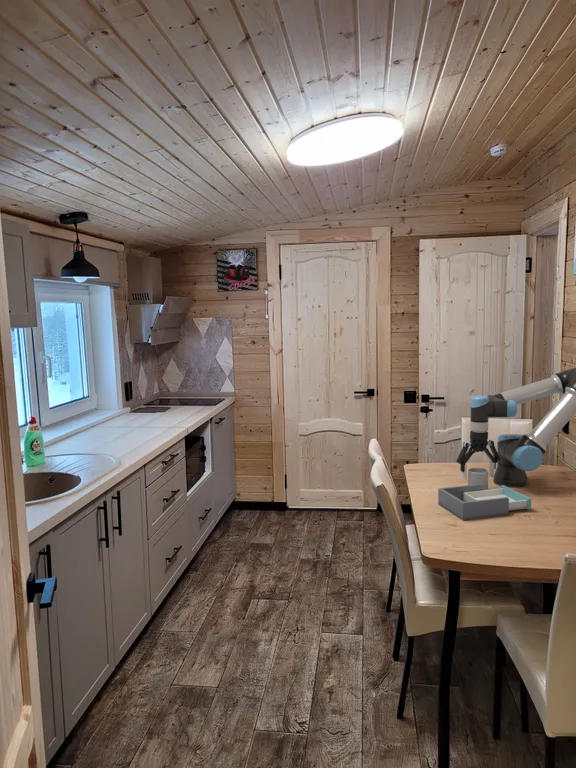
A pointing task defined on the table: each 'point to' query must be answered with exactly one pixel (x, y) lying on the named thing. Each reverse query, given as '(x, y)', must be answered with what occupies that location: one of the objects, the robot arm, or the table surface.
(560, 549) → the table surface
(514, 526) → the table surface
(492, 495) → the tray
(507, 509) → the dock
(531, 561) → the table surface
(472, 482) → the mug
